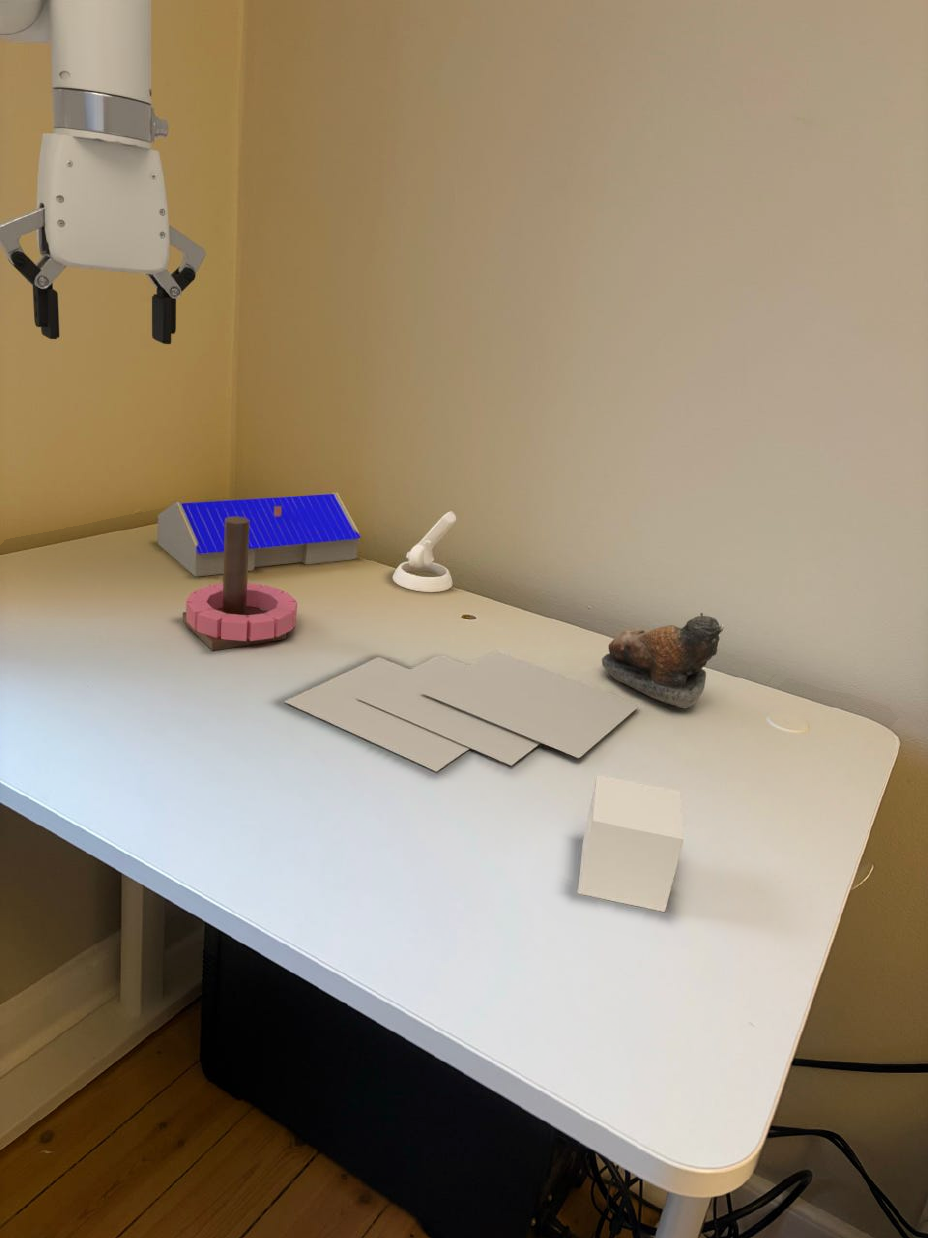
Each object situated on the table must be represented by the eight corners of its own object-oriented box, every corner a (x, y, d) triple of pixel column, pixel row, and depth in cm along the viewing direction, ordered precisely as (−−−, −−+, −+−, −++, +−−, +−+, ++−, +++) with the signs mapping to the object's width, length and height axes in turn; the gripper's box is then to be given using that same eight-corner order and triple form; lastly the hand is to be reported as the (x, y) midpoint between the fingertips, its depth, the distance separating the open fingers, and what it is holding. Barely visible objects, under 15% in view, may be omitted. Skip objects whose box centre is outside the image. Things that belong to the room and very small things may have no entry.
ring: (209, 647, 89) (209, 628, 88) (172, 605, 97) (173, 587, 97) (312, 633, 95) (313, 615, 94) (270, 595, 103) (271, 578, 103)
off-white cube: (582, 843, 69) (596, 774, 66) (662, 860, 68) (679, 791, 66) (577, 894, 63) (592, 820, 61) (665, 912, 62) (683, 839, 60)
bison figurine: (586, 676, 96) (603, 586, 92) (629, 663, 101) (647, 577, 97) (679, 726, 88) (702, 630, 84) (720, 709, 93) (744, 618, 89)
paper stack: (524, 812, 71) (525, 804, 71) (284, 702, 83) (284, 695, 82) (639, 710, 90) (641, 704, 90) (430, 632, 101) (431, 626, 101)
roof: (197, 578, 108) (198, 518, 105) (155, 542, 118) (155, 486, 115) (359, 560, 121) (364, 506, 118) (309, 528, 131) (312, 478, 128)
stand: (212, 651, 91) (214, 535, 86) (182, 620, 96) (183, 510, 92) (285, 639, 95) (292, 528, 91) (253, 611, 101) (257, 506, 97)
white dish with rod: (475, 567, 108) (430, 526, 107) (419, 622, 115) (378, 584, 115) (496, 539, 114) (454, 500, 113) (442, 593, 121) (402, 557, 121)
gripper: (188, 141, 83) (186, 337, 89) (-24, 104, 73) (-9, 328, 79) (222, 141, 78) (217, 350, 84) (-3, 101, 67) (12, 341, 74)
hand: (107, 339), depth 82 cm, fingers open, 9 cm apart
